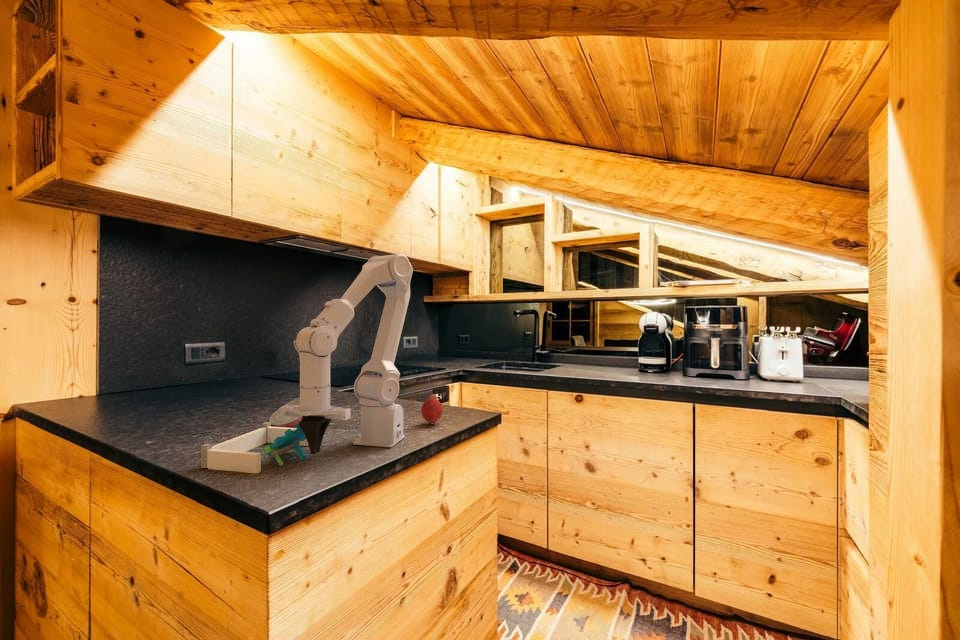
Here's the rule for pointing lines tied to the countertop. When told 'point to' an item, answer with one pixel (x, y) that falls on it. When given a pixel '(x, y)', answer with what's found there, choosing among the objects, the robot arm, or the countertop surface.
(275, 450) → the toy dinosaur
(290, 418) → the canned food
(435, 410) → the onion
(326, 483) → the countertop surface
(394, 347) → the robot arm
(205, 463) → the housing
